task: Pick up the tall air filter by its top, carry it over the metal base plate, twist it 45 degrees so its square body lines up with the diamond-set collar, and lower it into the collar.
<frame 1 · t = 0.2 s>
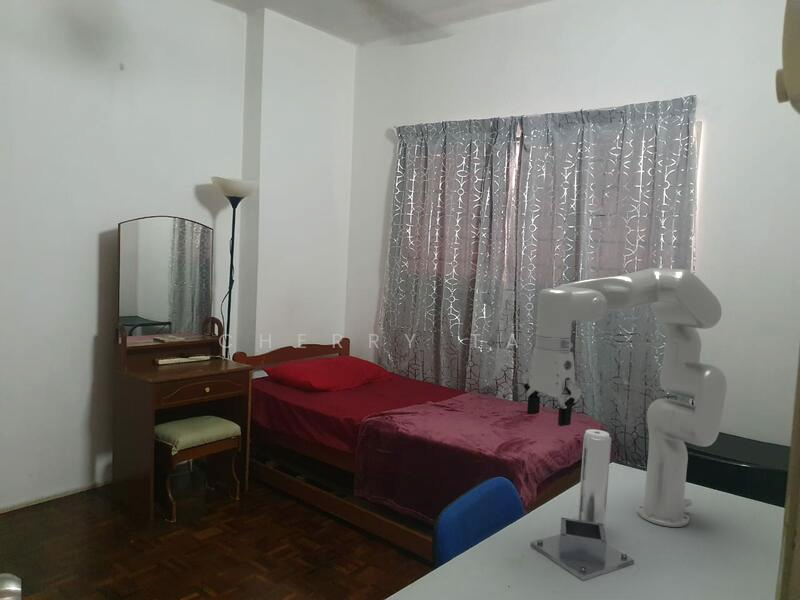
hand: (548, 419, 132), 31 cm above the table, fingers open, 9 cm apart
metal base plate: (581, 554, 134), on the table
air filter: (590, 530, 147), on the table
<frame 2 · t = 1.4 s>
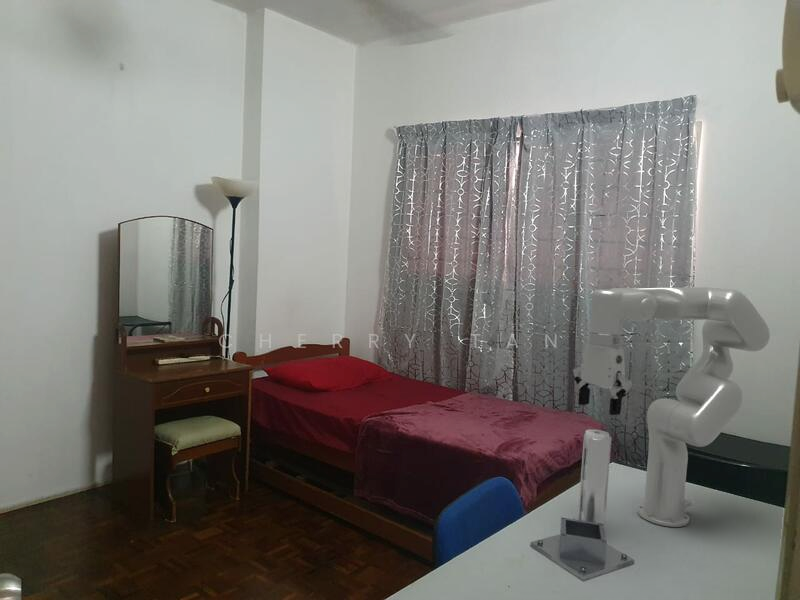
hand: (598, 409, 144), 31 cm above the table, fingers open, 9 cm apart
nothing on the table moved.
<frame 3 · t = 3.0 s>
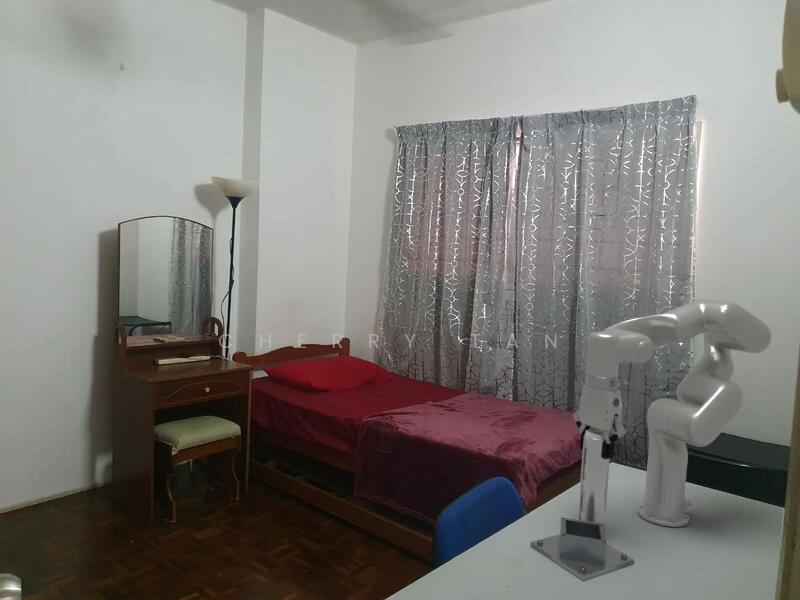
hand: (596, 452, 145), 20 cm above the table, fingers closed on air filter, 6 cm apart
air filter: (590, 530, 147), on the table, touching gripper
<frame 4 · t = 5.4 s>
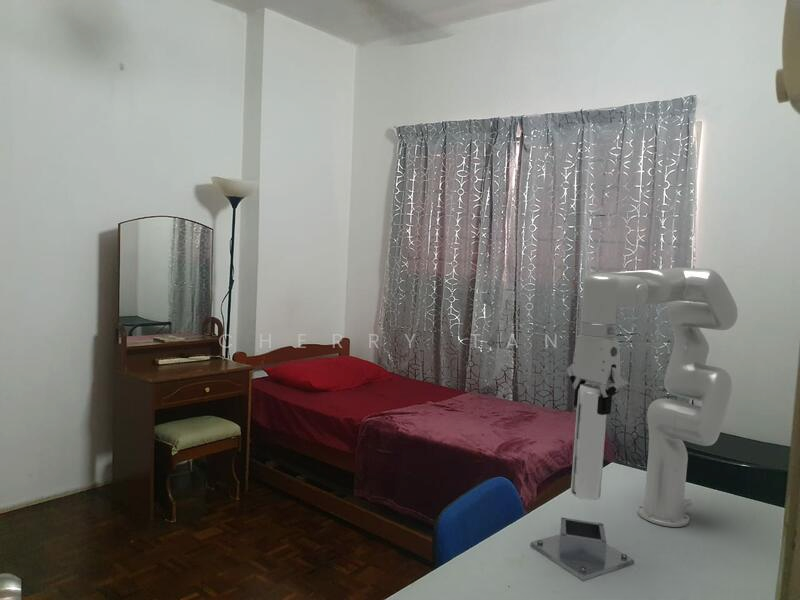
hand: (591, 409, 131), 34 cm above the table, fingers closed on air filter, 6 cm apart
air filter: (585, 495, 133), point 14 cm above the table, touching gripper
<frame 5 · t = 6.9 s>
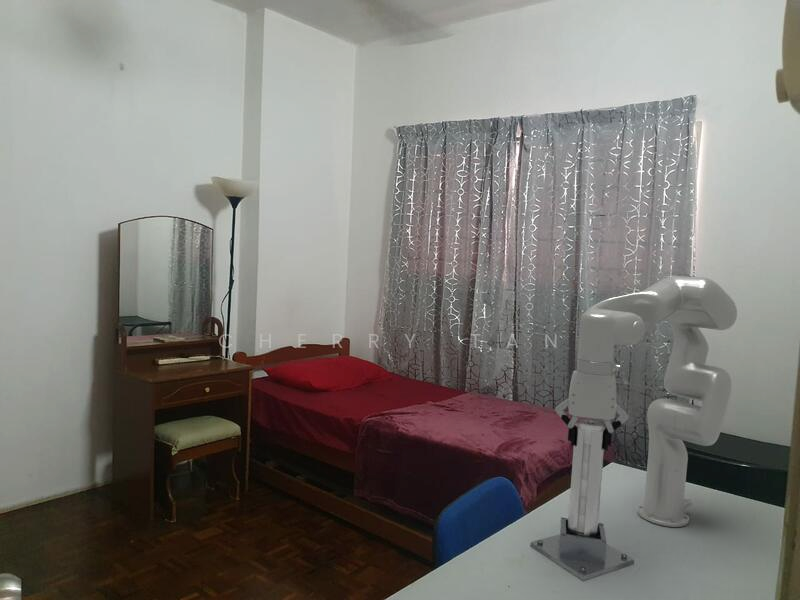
hand: (588, 445, 132), 26 cm above the table, fingers closed on air filter, 6 cm apart
air filter: (582, 530, 133), point 6 cm above the table, touching gripper
when the fingers open (22 cm above the table, at t = 8.0 s): air filter drops 1 cm, resting on metal base plate.
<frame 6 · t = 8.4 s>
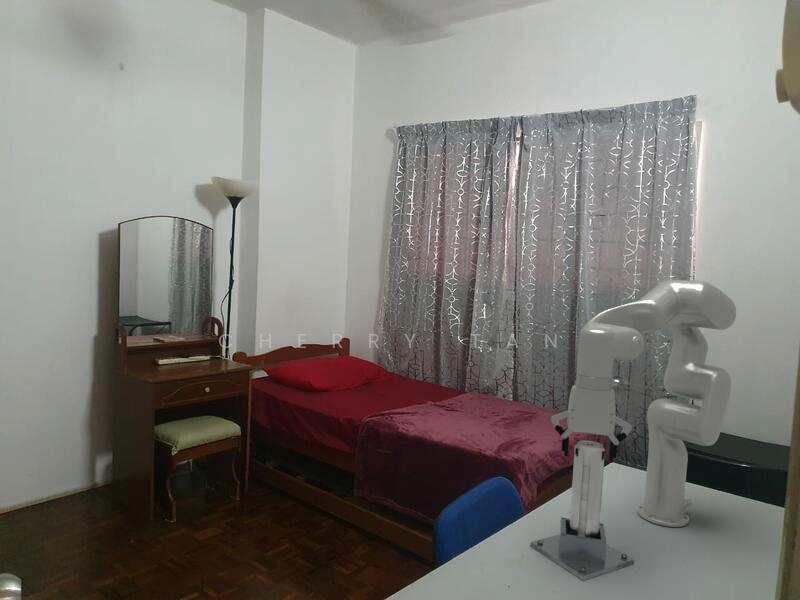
hand: (588, 457, 132), 23 cm above the table, fingers open, 9 cm apart
air filter: (582, 551, 134), point 1 cm above the table, touching metal base plate
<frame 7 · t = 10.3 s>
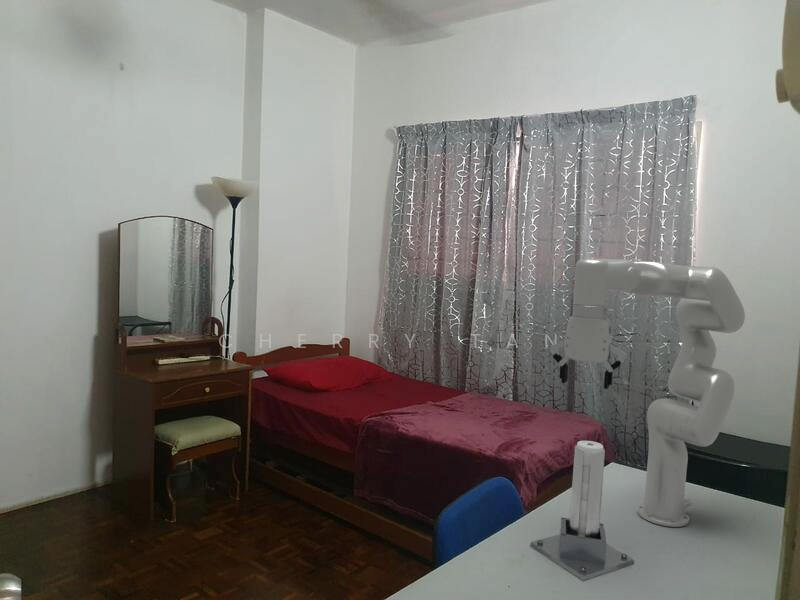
hand: (585, 384, 137), 38 cm above the table, fingers open, 9 cm apart
nothing on the table moved.
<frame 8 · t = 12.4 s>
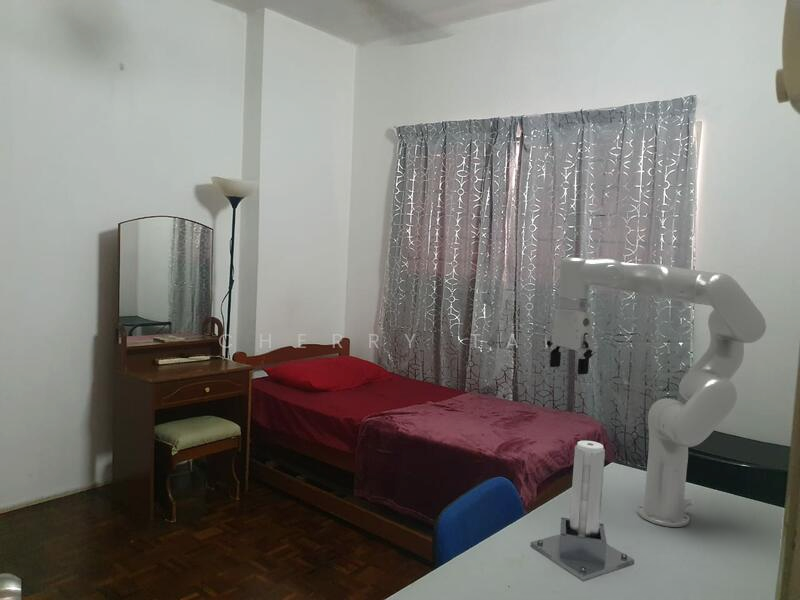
hand: (568, 370, 153), 38 cm above the table, fingers open, 9 cm apart
nothing on the table moved.
at the end: air filter 0.3 cm from the metal base plate (horizontally); air filter point 0.8 cm above the table; air filter tilted 0° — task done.
